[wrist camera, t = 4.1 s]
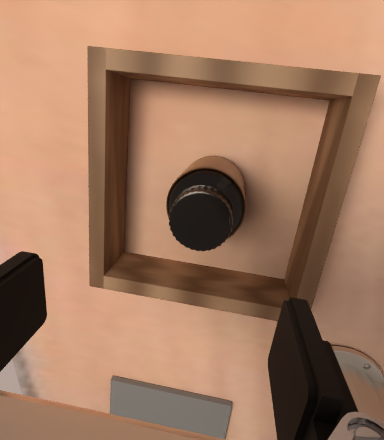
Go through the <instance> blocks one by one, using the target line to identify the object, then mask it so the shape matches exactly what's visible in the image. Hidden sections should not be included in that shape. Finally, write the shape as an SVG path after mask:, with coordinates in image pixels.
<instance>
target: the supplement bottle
mask: <svg viewBox="0 0 384 440" xmlns="http://www.w3.org/2000/svg"><path fill="white" fill-rule="evenodd" d="M166 207H167V214H168V217H169V220H170V222H169V225H170V227H171V228H170V230H171V231H172V232H173V236H175V238H176V240H177V241H179V242H180V243H181V244H182V245H184V246H185V247H187V248H190V249H191V250H196V251H200V250H201V251H206V250H211V249H215V248H216V247H217V246H220V245H221V244H222V243H223V242H225V240H226V239H228V238H230V237H231V236H232V235H233V234H234V233H235V232H236V231H237V230H238V229H239V227H240V226H241V224H242V222H243V220H244V217H245V212H246V198H245V187H244V181H243V177H242V175H241V173H240V171H239V169H238V168H237V167H236V166H235V165H234V164H233V163H232V162H231V161H229V160H227V159H225V158H222V157H218V156H208V157H203V158H201V159H199V160H197V161H195V162H194V163H192V164H191V165H190V166H189V167H188V168H187V169H186V170H185V171H184V172H183V173H182V174H181V175H180V176H179V177H178V178H177V179H176V181H175V182H174V183H173V185H172V186H171V188H170V190H169V193H168V196H167V203H166Z"/></svg>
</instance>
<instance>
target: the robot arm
mask: <svg viewBox="0 0 384 440" xmlns="http://www.w3.org/2000/svg"><path fill="white" fill-rule="evenodd" d="M46 317H47V310H46V298H45V286H44V274H43V262H42V259H41V258H39V256H38V255H37V254H34V253H29V252H19V253H18V254H16V255H15V256H13V257H12V258H10V259H9V260H7V261H6V262H4V263H3V264H1V265H0V371H1V370H2V369H3V368H4V367H5V366H6V365H7V364H8V363H9V361H10V360H11V359H12V358H13V357H14V356H15V355H16V354H17V353H18V351H19V350H20V349H21V348H22V347H23V346H24V345H25V344H26V343H27V341H28V340H29V339H30V338H31V337H32V336H33V335H34V334H35V333H36V331H37V330H38V329H39V328H40V327H41V326H42V325H43V323H44V322H45V320H46ZM268 370H269V378H270V386H271V393H272V401H273V409H274V417H275V424H276V432H277V440H384V376H383V374H382V373H381V371H380V369H379V367H378V366H377V365H376V364H375V362H374V361H373V360H371V359H370V358H369V357H368V356H366V355H364V354H363V353H361V352H359V351H356V350H354V349H351V348H346V347H341V346H331V344H330V343H329V342H328V341H323V340H322V338H321V335H320V332H319V330H318V327H317V325H316V322H315V319H314V317H313V314H312V311H311V309H310V306H309V304H308V301H307V300H305V299H299V298H293V297H290V298H289V300H288V301H287V300H284V301H283V304H282V308H281V312H280V315H279V319H278V323H277V327H276V330H275V334H274V338H273V342H272V345H271V349H270V353H269V357H268ZM0 440H224V439H220V438H216V437H212V436H208V435H204V434H199V433H195V432H190V431H186V430H181V429H177V428H172V427H167V426H163V425H158V424H154V423H149V422H145V421H140V420H136V419H131V418H127V417H122V416H118V415H113V414H108V413H104V412H99V411H95V410H90V409H85V408H81V407H76V406H71V405H67V404H62V403H57V402H53V401H48V400H43V399H39V398H34V397H29V396H25V395H20V394H15V393H10V392H5V391H1V390H0Z"/></svg>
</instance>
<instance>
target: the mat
mask: <svg viewBox="0 0 384 440" xmlns="http://www.w3.org/2000/svg"><path fill="white" fill-rule="evenodd" d="M231 407H232V401H228V400H224V399H219V398H214V397H210V396H205V395H201V394H196V393H191V392H187V391H182V390H177V389H173V388H168V387H164V386H159V385H154V384H150V383H145V382H141V381H136V380H131V379H127V378H122V377H117V376H112V379H111V394H110V414H113V415H118V416H122V417H127V418H131V419H136V420H140V421H145V422H149V423H154V424H158V425H163V426H167V427H172V428H177V429H181V430H186V431H190V432H195V433H199V434H204V435H208V436H212V437H216V438H220V439H225V435H226V430H227V425H228V421H229V416H230V412H231Z"/></svg>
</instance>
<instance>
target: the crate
mask: <svg viewBox="0 0 384 440" xmlns="http://www.w3.org/2000/svg"><path fill="white" fill-rule="evenodd" d="M380 77H381V76H380V75H370V74H360V73H350V72H340V71H331V70H321V69H311V68H301V67H291V66H281V65H271V64H261V63H251V62H241V61H231V60H221V59H211V58H201V57H191V56H182V55H172V54H162V53H152V52H142V51H132V50H122V49H112V48H102V47H92V46H88V155H89V274H90V286H92V287H98V288H103V289H108V290H114V291H119V292H125V293H130V294H135V295H141V296H146V297H151V298H157V299H162V300H167V301H173V302H178V303H184V304H189V305H194V306H200V307H205V308H210V309H216V310H221V311H226V312H232V313H237V314H243V315H248V316H253V317H259V318H264V319H269V320H275V321H278V319H279V315H280V312H281V308H282V304H283V301H284V300H287V301H288V300H289V298H290V297H293V298H299V299H305V300H307V301H308V304H309V306H310V309H311V307H312V303H313V300H314V297H315V293H316V290H317V287H318V284H319V280H320V277H321V274H322V270H323V267H324V264H325V260H326V257H327V254H328V250H329V247H330V244H331V240H332V237H333V234H334V230H335V227H336V224H337V220H338V217H339V214H340V210H341V207H342V204H343V200H344V197H345V194H346V190H347V187H348V184H349V180H350V177H351V174H352V170H353V167H354V164H355V160H356V157H357V154H358V150H359V147H360V144H361V140H362V137H363V134H364V130H365V127H366V124H367V120H368V117H369V114H370V110H371V107H372V104H373V100H374V97H375V94H376V90H377V87H378V84H379V81H380ZM130 78H133V79H142V80H151V81H160V82H170V83H179V84H188V85H197V86H206V87H215V88H224V89H233V90H242V91H251V92H260V93H269V94H278V95H287V96H296V97H305V98H314V99H323V100H330V102H329V106H328V110H327V114H326V118H325V122H324V126H323V130H322V134H321V138H320V142H319V146H318V150H317V154H316V158H315V161H314V165H313V169H312V173H311V177H310V181H309V185H308V189H307V193H306V197H305V201H304V205H303V209H302V213H301V217H300V221H299V225H298V229H297V233H296V236H295V240H294V244H293V248H292V252H291V256H290V260H289V264H288V268H287V272H286V276H285V280H284V279H278V278H272V277H266V276H260V275H255V274H249V273H243V272H237V271H231V270H226V269H220V268H214V267H208V266H202V265H197V264H191V263H185V262H179V261H173V260H168V259H162V258H156V257H150V256H144V255H138V254H133V253H127V252H124V234H125V207H126V179H127V152H128V124H129V97H130Z"/></svg>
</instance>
